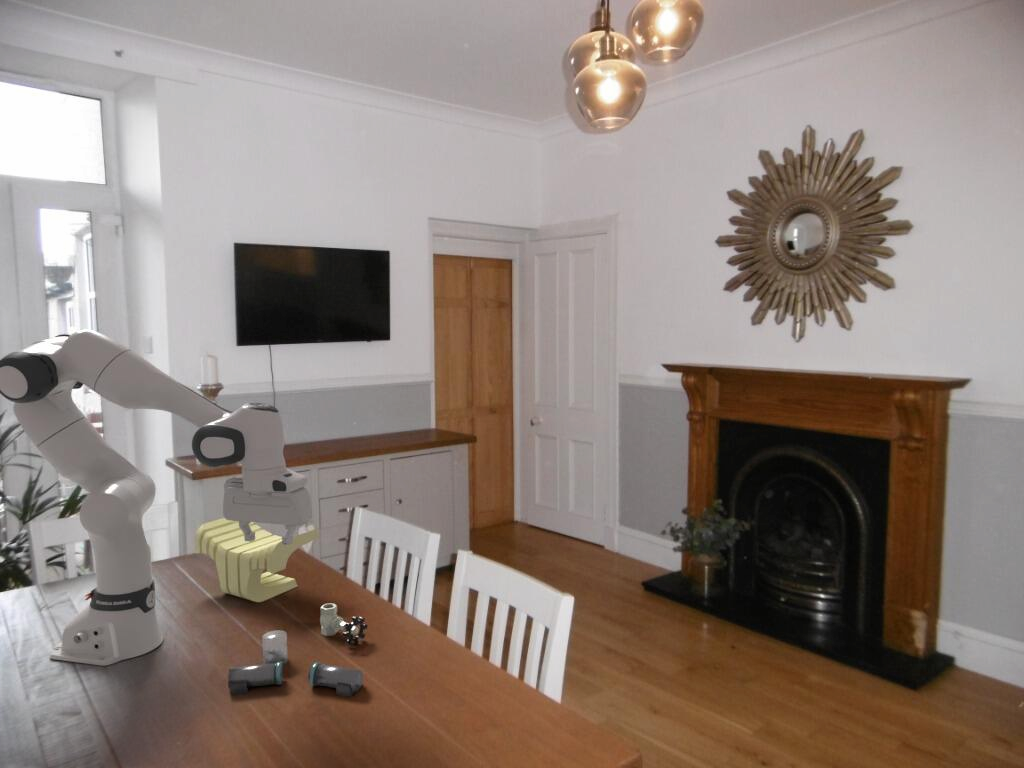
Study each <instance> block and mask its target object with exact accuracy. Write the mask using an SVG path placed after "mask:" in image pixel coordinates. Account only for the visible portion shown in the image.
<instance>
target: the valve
mask: <svg viewBox="0 0 1024 768" xmlns="http://www.w3.org/2000/svg"><path fill="white" fill-rule="evenodd" d="M337 613H338V605H337V604H335V603H324V604H323V605H321V606H320V616H319V622H320V623H319V624H320V626H321V627H320V634H321V635H322V636H324V637H329V636H335V635H336V634H337V633H338V632H339V631H340V630H342V631H343V632H342V634H341V637H342V638H347V639H345V641H344V642H345V644H346V645H348V646H349V645H352V644H353V645H355V646H357V645H358V644H359V643H360V641H359V639H365V638H366V634H365V633H364V630H367V629H368V624H367V623H364V622H365V621H366V620H365V619H366V618H365V617H363V616H356V615H353V616H352V617H351V621H352V622H347V621H344V618H343V617H341V616H339V615H338V614H337ZM358 617H359V618H358ZM358 625H359V627H360V629H359V627H358ZM355 635H356V636H355Z"/></svg>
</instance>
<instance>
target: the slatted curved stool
mask: <svg viewBox="0 0 1024 768" xmlns="http://www.w3.org/2000/svg"><path fill="white" fill-rule="evenodd" d="M249 526H250V528H251V530H252V531H253V532H255V540H254V541H245V538H244V533H243V532H242V530H241V528H240V527H239V521H230V520H226V519H225V517H222V518H218V519H216V520H212V521H209V522H205V523H203V524H202V525H200V526H199V527H198V529H196V532H195V536H194V551H195V554H203V555H204V554H205V555H208V557H210V558H211V559H212V561H215V567H216V570H217V574H218V579H219V587H220V590H221V592H223V593H225V594H229V595H230V596H231V595H232V596H233V597H234V596H235V597H239V598H241V599H244V600H248V601H252V602H254V603H262V602H264V601H265V602H266V601H267V600H269V599H271V598H274V597H276V596H278V595H280V594H281V595H282V594H283V593H285V592H288V591H290V590H292V589H295V588H298V583H297V581H296V578H294V577H293V578H292V577H286V575H282V574H277V573H278V572H280V571H283V570H285V569H287V563H288V560H289V558H290V556H291V555H292V554H293V553H294V552H295V551H297V550H298V549H299V548H301V547H302V546H304V545H306V544H309V543H311V542H313V541H316V540H318V539H319V528H315V529H311V530H309V531H306V532H304V533H301V534H297V535H295V536H293V542H292V544H290V545H285V544H282V536H279V535H277V534H275V535H274V534H273V533H271V532H269V531H268V530H266V529H262V527H260V526H259V525H258V524H255V522H250V524H249ZM264 570H266V572H264ZM263 572H264V573H263ZM275 573H276V574H275Z"/></svg>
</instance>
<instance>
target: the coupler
mask: <svg viewBox="0 0 1024 768" xmlns="http://www.w3.org/2000/svg"><path fill="white" fill-rule="evenodd" d="M261 638H262V639H261V640H262V661H263V663H262V664H272V663H276V662H281V661H282V665H283V666H284V665H285V664H287V662H288V635H287V632H286V631H284V630H280V629H279V630H277V629H276V630H270V631H268V632H266V633H264V634H263V635H262V637H261Z"/></svg>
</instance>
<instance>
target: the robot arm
mask: <svg viewBox="0 0 1024 768" xmlns="http://www.w3.org/2000/svg"><path fill="white" fill-rule="evenodd" d="M84 385H85V386H86V387H87V388H88V389H90V390H91V391H93V392H94V393H96V394H98V396H100V397H102V398H103V399H105V400H106V401H109V402H111V403H112V404H113V405H117V406H119V407H122V408H125V409H129V410H158V411H164V412H168V413H172V415H173V414H174V415H175V416H177V417H179V418H181V419H183V420H184V421H186V422H188V423H190V424H191V425H192V426H195V427H196V428H198V429H197V430H196V432H195V433H194V434H193V436H192V438H191V439H192V441H191V449H192V453H193V455H194V457H195V458H196V460H197V461H198V462H199V463H201V464H202V465H204V466H205V467H210V468H221V467H225V466H230V465H232V464H240V465H241V474H242V475H241V477H236V476H232V477H229V478H228V479H226V480H225V482H224V484H223V490H224V491H223V492H224V493H223V502H222V503H223V504H222V513H223V514H222V515H223V518H225V519H226V520H230V521H239V527H240V528H241V530H242V532H243V533H244V538H245V541H254V540H255V532H253V531H252V530H251V528H250V526H249V524H250V522H254V523H259V524H271V525H281V526H282V525H283V526H284V527H285V530H287V531H286V533H285V534H284V535H283V536H281V537H282V544H285V545H290V544H292V542H293V537H294V534H295V531H296V529H297V527H300V526H304V525H306V524H308V523H309V522H310V521H311V519H312V517H313V509H312V508H313V507H312V500H311V495H310V492H309V490H308V489H307V487H306V486H307V485H308V483H309V482H308V480H309V479H308V477H307V476H306V475H304V474H301V473H299V472H297V471H294V470H292V469H290V468H287V465H286V459H285V457H284V447H285V437H284V436H285V434H284V424H283V421H282V415H281V413H280V411H279V409H277V407H275V406H273V405H271V404H266V403H262V402H261V403H259V402H255V403H254V402H249V403H244V404H242V405H241V406H240V407H239V408H238V409H236V410H235V411H233V410H228V409H226V408H223V407H222V406H219V405H218V404H217V403H214V402H213V401H211V400H209V399H208V398H206V397H205V396H203V395H201V394H199V393H198V392H196V391H194V390H193V389H192V388H190V387H188V386H186V385H184V384H182V383H180V382H179V381H177V380H176V379H174V378H173V377H171V376H170V375H169V374H167V373H165V372H164V371H162V370H160V369H159V368H158V367H156V366H155V365H153V363H151V362H149V361H148V360H146V359H145V358H143V356H141V355H139V354H138V353H137V352H135V351H133V349H132V350H131V349H130V348H129V347H128V346H126V345H124V344H122V343H121V342H119V341H117V340H116V339H113V338H111V337H110V336H108V335H105V334H103V333H101V332H98V331H96V330H94V329H80V330H77V331H75V332H73V333H63V334H62V333H61V334H58V335H55V336H54V337H49V338H46V339H42V340H38V341H35V342H32V343H31V344H30V345H28V346H25V347H24V348H21V349H20V350H17V351H13V352H10V353H8V354H7V355H5V356H3V357H2V358H1V359H0V395H1V396H2V397H4V398H5V399H6V400H8V401H10V402H12V403H13V413H14V415H15V417H16V419H17V421H18V423H19V424H20V426H21V428H22V430H24V433H25V434H26V436H27V437H28V438H29V439H30V442H32V443H33V444H34V446H35V447H36V449H38V451H39V452H40V453H41V454H42V455H43V456H44V458H45V459H46V460H47V461H48V462H49V464H50V465H51V466H52V467H53V468H54V469H55V471H56V472H57V473H58V474H59V475H60V476H61V477H62V478H63V479H66V480H69V481H72V483H75V484H76V485H77V486H79V487H80V488H81V489H83V490H84V491H86V492H87V493H88V495H87V496H86V497H85V499H84V501H83V502H82V505H81V507H80V508H79V509H80V510H79V515H78V516H79V521H80V523H81V526H82V527H83V528H84V530H86V532H87V535H88V538H89V542H90V544H91V548H92V553H93V556H94V565H95V566H94V567H95V568H94V569H95V579H96V580H95V581H96V583H95V584H96V587H94V589H91V590H90V592H89V593H87V594H86V595H84V598H85V599H84V600H85V601H88V600H89V599H91V600H90V602H89V604H88V605H87V606H86V607H85V608H84V609H83V610H81V611H80V612H79V613H77V615H75V616H74V617H72V619H70V620H69V621H68V623H67V624H66V625H65V626H64V629H63V632H62V635H61V636H62V638H61V641H59V642H58V643H57V644H56V645H55V646H53V648H52V649H51V651H50V654H49V659H51V660H57V661H65V662H71V663H79V664H80V663H81V664H87V665H95V666H100V667H102V666H103V667H104V666H110V665H113V664H116V663H118V662H121V661H124V660H128V659H132V658H135V657H139V656H142V655H145V654H147V653H149V652H151V651H154V650H155V649H156V648H157V647H159V646H160V645H161V644H162V643H163V642H164V636H163V634H162V631H161V629H160V626H159V625H160V624H159V621H158V617H157V613H156V612H157V611H156V586H155V584H156V583H155V580H154V579H153V572H152V571H153V569H152V552H151V551H152V550H151V547H150V544H149V543H148V540H147V538H146V535H145V534H146V533H145V531H144V528H143V527H144V526H143V518H144V514H145V513H146V512H148V510H149V509H150V508H151V507H152V505H153V503H154V500H155V496H156V493H157V492H156V491H157V490H156V489H157V488H156V484H155V481H154V479H153V478H152V477H151V476H150V475H149V474H148V473H145V472H143V471H141V470H139V469H138V468H137V467H136V466H134V465H133V464H132V463H131V462H130V461H129V460H128V459H127V458H125V457H124V456H122V454H120V452H118V451H117V450H116V449H115V448H113V447H112V446H111V445H110V444H109V443H108V441H106V439H105V438H104V437H103V436H102V434H101V433H100V432H99V431H98V430H97V429H96V426H94V425H93V423H91V421H90V420H89V419H88V417H87V416H86V415H85V414H84V413H83V411H81V409H79V407H78V406H77V404H75V402H74V400H73V397H72V392H73V390H78V389H81V388H82V387H83V386H84Z"/></svg>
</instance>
